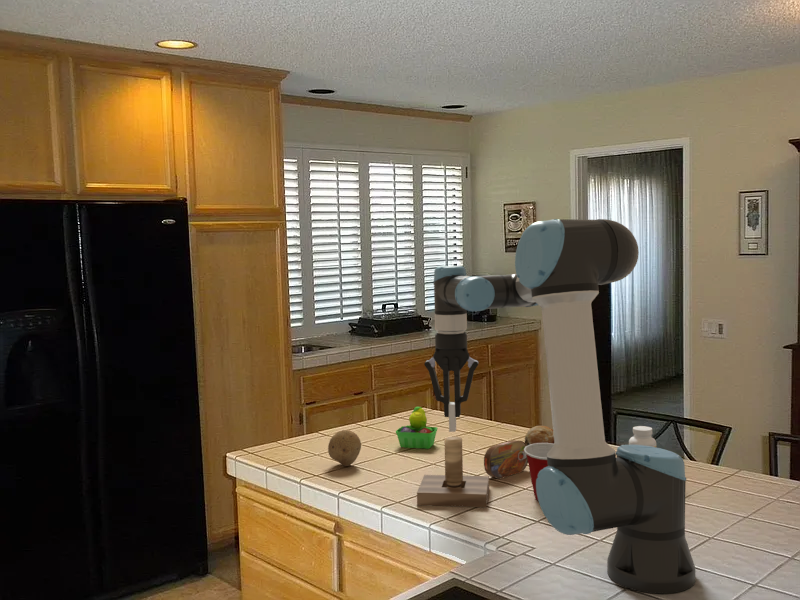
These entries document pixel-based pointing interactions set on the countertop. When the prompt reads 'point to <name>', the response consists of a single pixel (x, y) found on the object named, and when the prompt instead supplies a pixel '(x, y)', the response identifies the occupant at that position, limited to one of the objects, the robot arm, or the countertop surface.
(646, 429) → the supplement bottle
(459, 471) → the peg
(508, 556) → the countertop surface
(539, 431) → the bread roll
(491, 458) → the tin
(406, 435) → the fruit basket
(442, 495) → the board
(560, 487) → the robot arm
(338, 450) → the natural sponge
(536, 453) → the plastic cup
